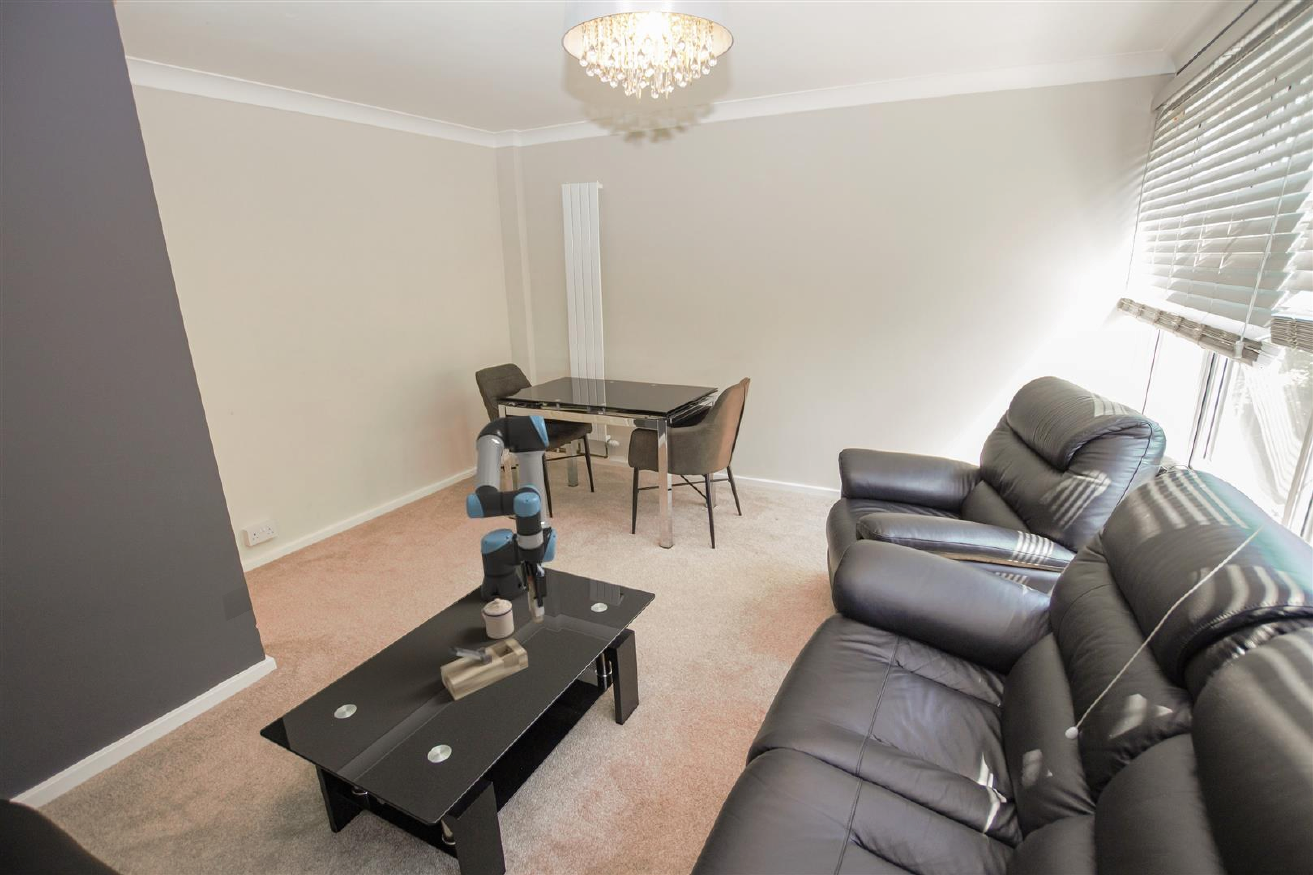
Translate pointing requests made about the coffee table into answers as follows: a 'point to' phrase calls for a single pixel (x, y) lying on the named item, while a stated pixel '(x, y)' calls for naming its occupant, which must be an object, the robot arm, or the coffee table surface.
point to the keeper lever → (465, 653)
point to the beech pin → (532, 594)
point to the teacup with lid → (498, 618)
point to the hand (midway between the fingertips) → (536, 611)
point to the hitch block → (484, 668)
